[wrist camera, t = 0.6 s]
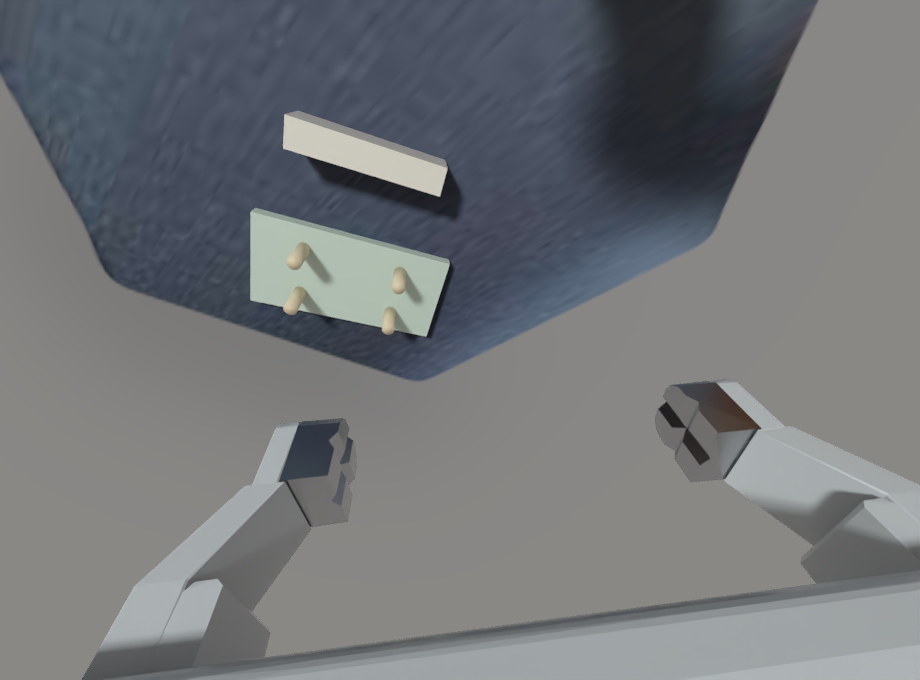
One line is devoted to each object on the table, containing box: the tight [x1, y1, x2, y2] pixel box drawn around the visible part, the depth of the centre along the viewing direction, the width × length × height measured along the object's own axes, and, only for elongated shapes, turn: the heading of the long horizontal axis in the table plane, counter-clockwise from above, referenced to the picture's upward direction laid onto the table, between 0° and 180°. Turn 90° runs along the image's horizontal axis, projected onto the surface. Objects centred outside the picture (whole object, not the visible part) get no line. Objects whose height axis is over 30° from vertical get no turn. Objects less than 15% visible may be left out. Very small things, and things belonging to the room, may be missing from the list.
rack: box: [250, 208, 450, 337], centre depth 47 cm, size 24×12×6 cm, turn 72°
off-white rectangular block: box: [283, 111, 448, 197], centre depth 39 cm, size 16×3×5 cm, turn 72°
